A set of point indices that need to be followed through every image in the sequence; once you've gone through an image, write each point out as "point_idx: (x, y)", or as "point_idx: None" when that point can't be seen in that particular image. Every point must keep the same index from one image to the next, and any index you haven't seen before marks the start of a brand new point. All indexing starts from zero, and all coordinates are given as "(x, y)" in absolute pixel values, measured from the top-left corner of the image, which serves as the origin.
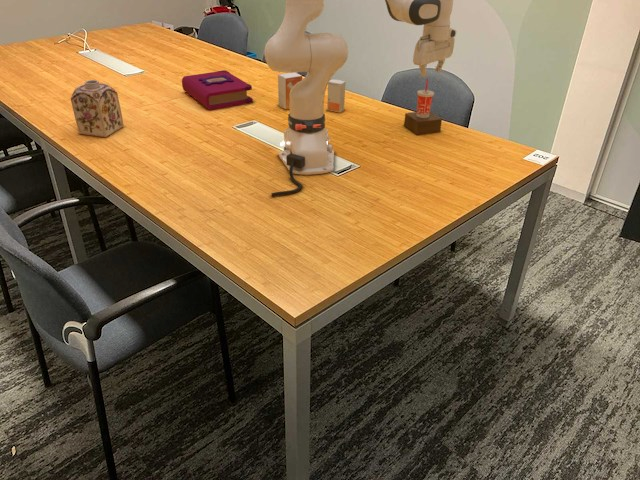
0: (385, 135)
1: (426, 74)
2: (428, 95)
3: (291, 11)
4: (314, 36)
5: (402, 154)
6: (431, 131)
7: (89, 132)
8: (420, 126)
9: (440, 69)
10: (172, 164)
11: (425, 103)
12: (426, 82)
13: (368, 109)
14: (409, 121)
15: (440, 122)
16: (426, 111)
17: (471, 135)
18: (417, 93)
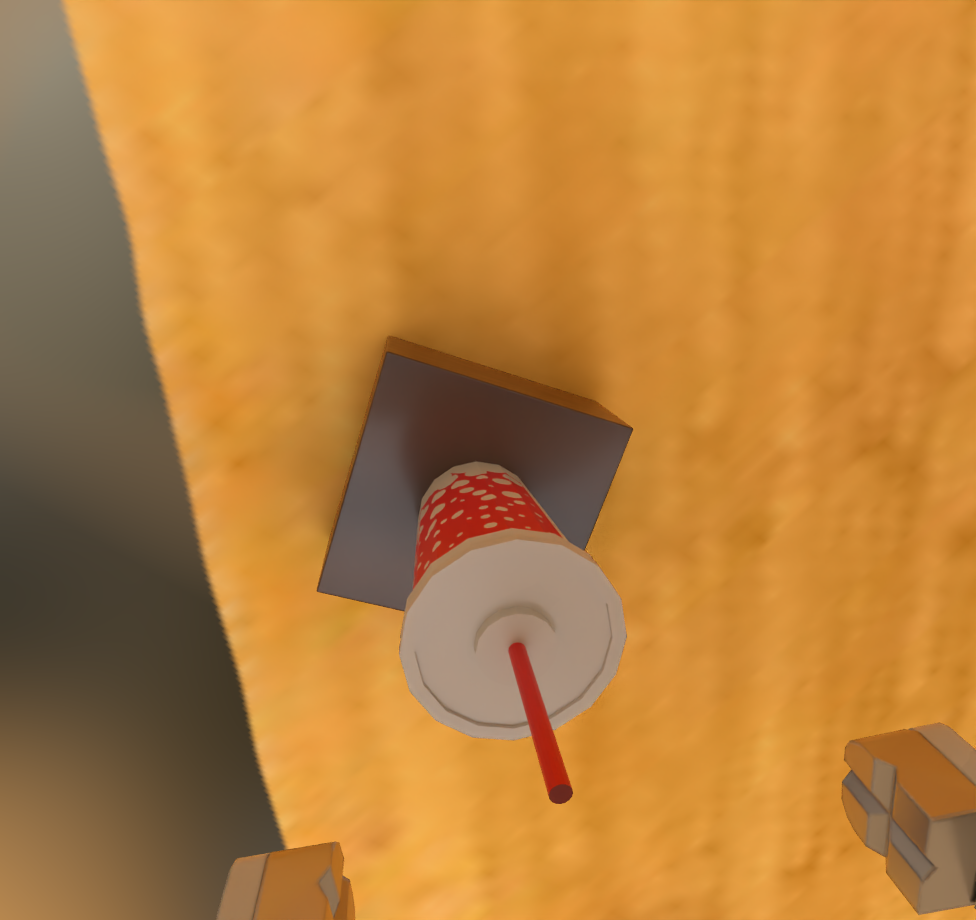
0: (769, 526)
1: (903, 759)
2: (571, 548)
3: None
4: None
5: (972, 202)
6: (473, 364)
7: None
8: (595, 410)
9: (280, 895)
10: None
11: (552, 526)
12: (553, 743)
13: (484, 915)
14: None
15: (399, 349)
16: (511, 484)
17: (200, 83)
18: (587, 689)
